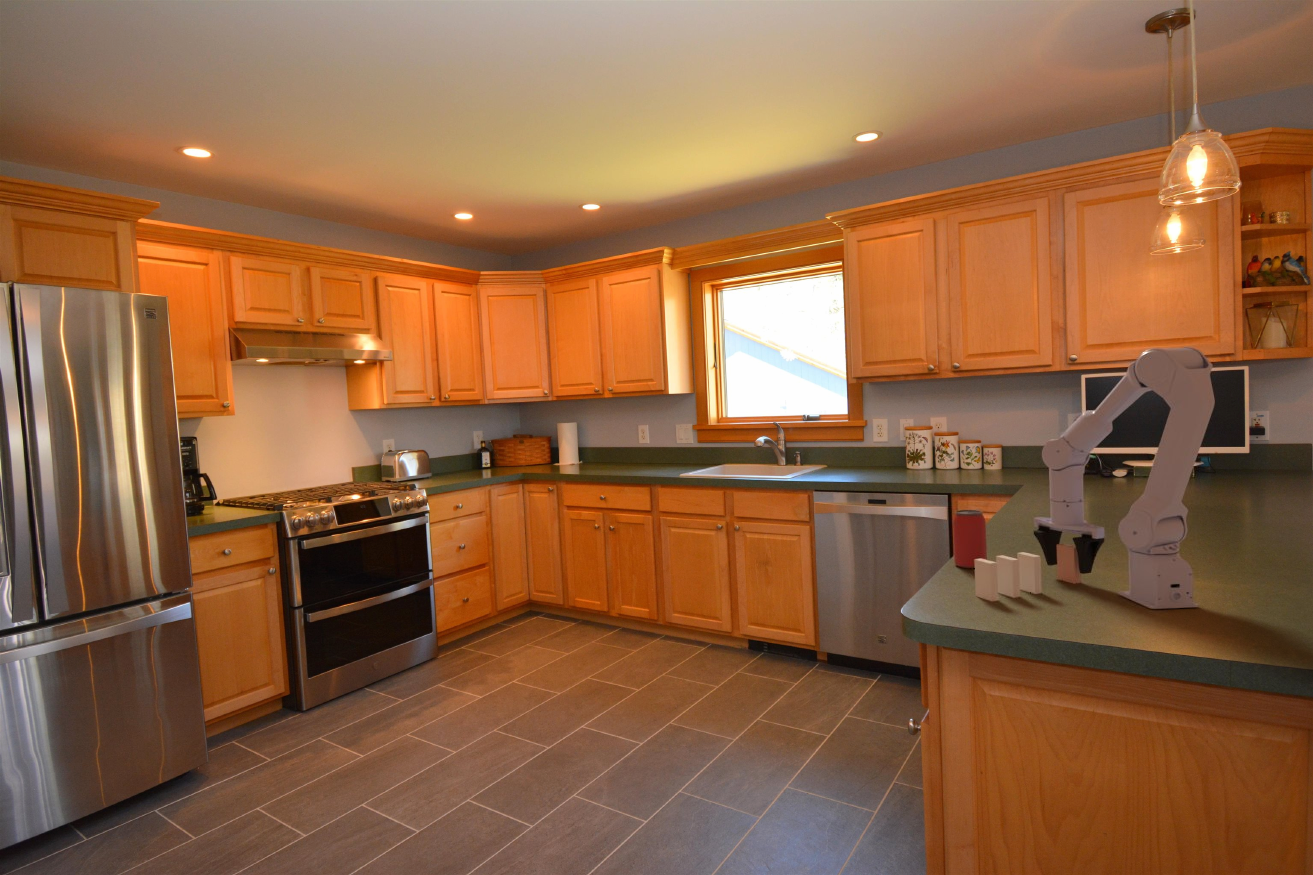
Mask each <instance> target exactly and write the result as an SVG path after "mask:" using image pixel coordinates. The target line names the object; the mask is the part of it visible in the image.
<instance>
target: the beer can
mask: <svg viewBox="0 0 1313 875" xmlns="http://www.w3.org/2000/svg"><path fill="white" fill-rule="evenodd" d="M986 524H987V521H986V519H985V516H984V515H983V511H982V510H977V509H961V510H959V509H958V510H955V512H954V516H953V519H952V529H953V530H952V531H953V532H952V536H953V559H954V558H955V559H954V565H955V566H957V567H958V568H964V569H969V568H972V569H971V570H974V569H973V568H975V563H974V559H980V558H981V559H985V560H988V551H987V529H986V528H987V526H986Z"/></svg>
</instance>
